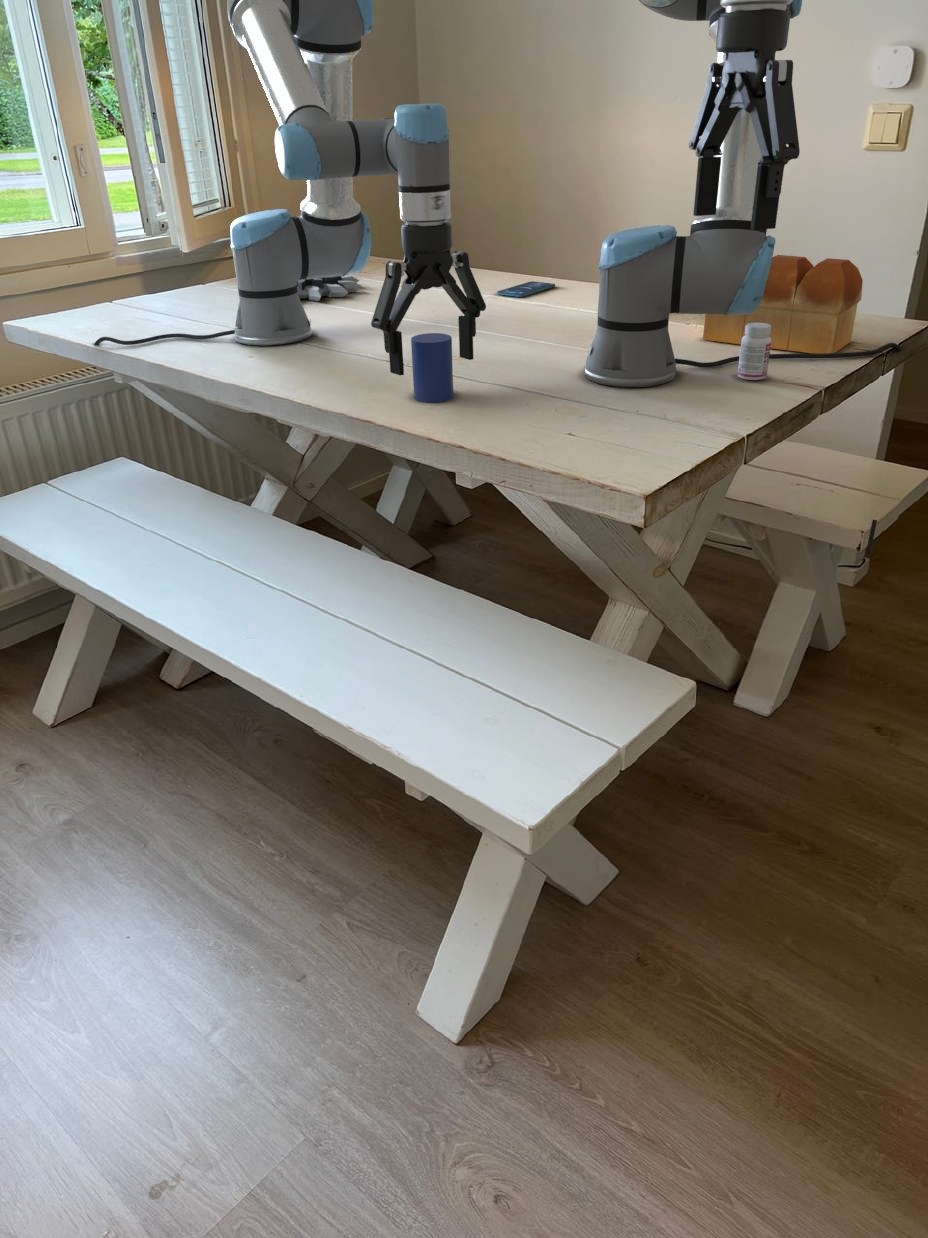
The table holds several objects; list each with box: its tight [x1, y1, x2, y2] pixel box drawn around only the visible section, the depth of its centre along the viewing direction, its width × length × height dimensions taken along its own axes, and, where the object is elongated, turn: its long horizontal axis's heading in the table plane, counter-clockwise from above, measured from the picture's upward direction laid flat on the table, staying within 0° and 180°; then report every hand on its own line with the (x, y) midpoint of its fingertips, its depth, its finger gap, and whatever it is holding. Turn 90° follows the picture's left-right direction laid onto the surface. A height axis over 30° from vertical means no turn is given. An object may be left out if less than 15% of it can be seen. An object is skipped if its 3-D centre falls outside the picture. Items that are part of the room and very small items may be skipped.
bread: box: [702, 254, 864, 354], centre depth 174 cm, size 25×12×15 cm, turn 54°
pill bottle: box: [737, 323, 772, 381], centre depth 155 cm, size 5×5×8 cm
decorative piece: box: [297, 275, 363, 302], centre depth 230 cm, size 30×4×30 cm
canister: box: [410, 332, 454, 404], centre depth 150 cm, size 6×6×9 cm
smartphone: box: [496, 281, 556, 298], centre depth 225 cm, size 8×1×15 cm
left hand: (432, 365), depth 150 cm, fingers open, 13 cm apart
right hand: (732, 221), depth 112 cm, fingers open, 13 cm apart
